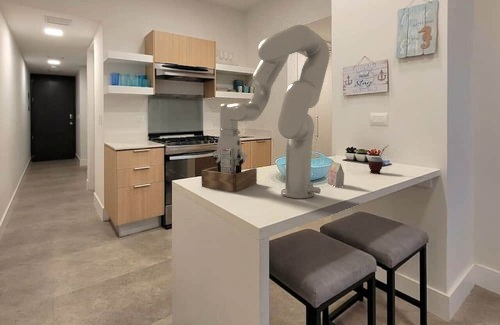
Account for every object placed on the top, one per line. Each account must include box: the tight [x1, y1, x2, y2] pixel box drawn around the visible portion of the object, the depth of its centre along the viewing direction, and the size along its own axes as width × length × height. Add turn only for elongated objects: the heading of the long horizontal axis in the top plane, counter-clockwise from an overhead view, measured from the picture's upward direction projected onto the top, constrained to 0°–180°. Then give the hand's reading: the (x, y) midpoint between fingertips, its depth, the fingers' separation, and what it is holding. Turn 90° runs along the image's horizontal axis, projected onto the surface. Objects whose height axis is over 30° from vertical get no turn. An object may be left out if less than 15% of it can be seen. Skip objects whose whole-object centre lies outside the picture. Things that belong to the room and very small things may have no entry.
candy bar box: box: [220, 149, 237, 174], centre depth 132 cm, size 11×5×16 cm, turn 168°
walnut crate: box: [200, 165, 258, 193], centre depth 133 cm, size 17×17×7 cm
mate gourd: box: [367, 144, 390, 175], centre depth 159 cm, size 8×8×15 cm
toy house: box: [327, 161, 345, 188], centre depth 133 cm, size 4×7×10 cm, turn 15°
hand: (229, 172), depth 133 cm, fingers open, 9 cm apart
